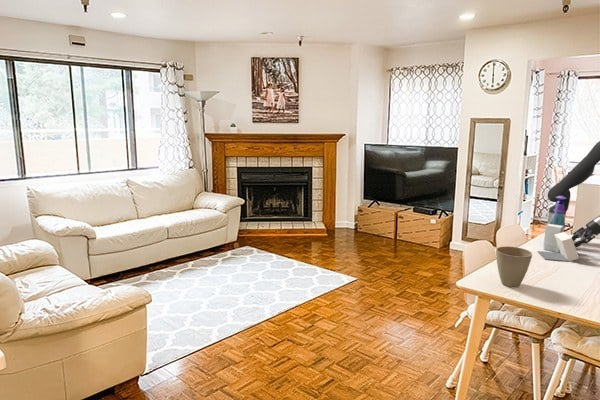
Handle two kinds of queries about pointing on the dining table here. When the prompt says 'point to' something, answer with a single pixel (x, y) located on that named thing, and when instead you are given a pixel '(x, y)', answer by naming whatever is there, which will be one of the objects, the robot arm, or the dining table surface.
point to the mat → (552, 256)
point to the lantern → (559, 212)
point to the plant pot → (512, 264)
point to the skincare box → (552, 237)
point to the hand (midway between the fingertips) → (571, 243)
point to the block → (566, 246)
